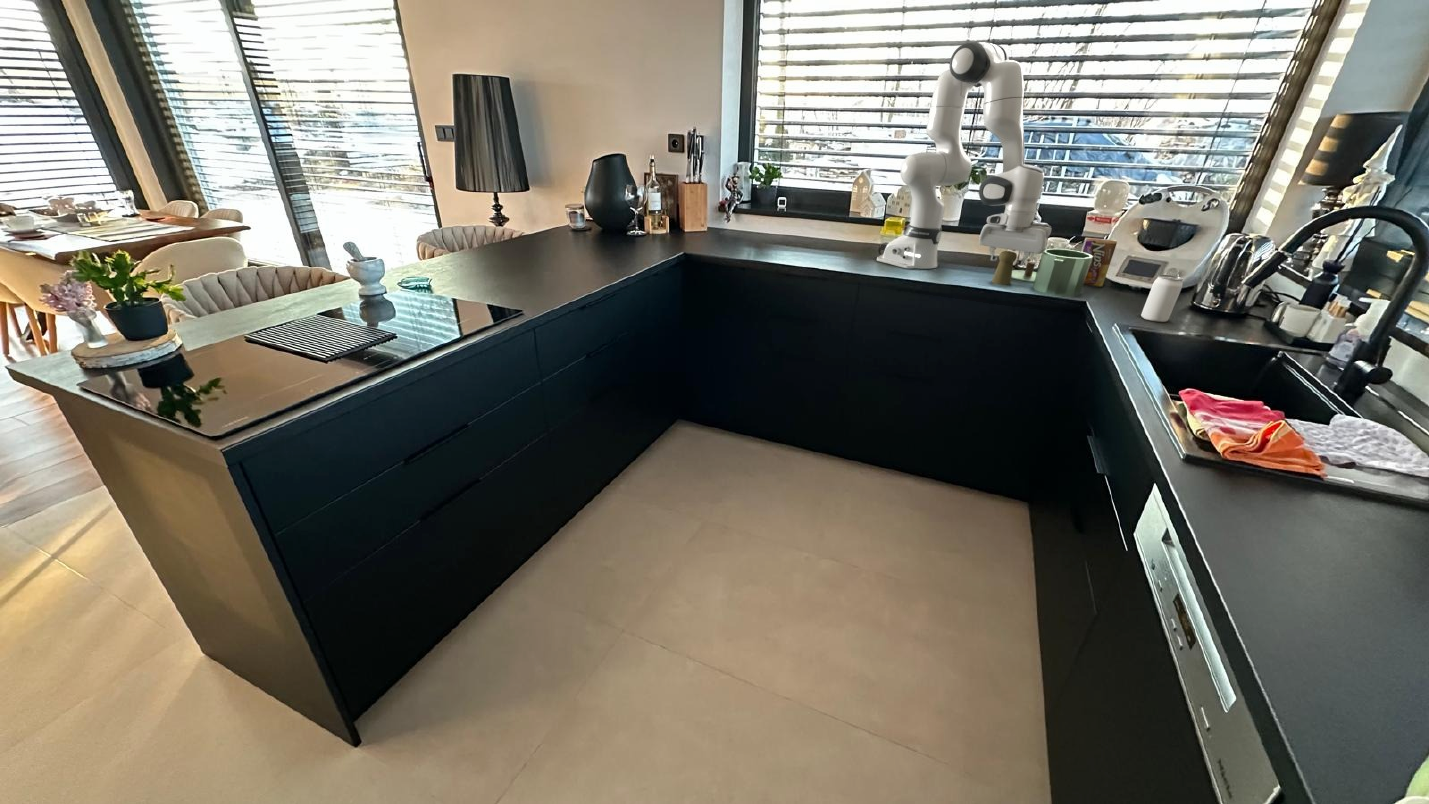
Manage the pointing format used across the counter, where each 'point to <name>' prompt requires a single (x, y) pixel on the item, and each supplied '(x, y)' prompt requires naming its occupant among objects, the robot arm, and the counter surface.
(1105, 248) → the candy box
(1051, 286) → the pot
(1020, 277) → the lid
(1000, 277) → the cork
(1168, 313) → the can
